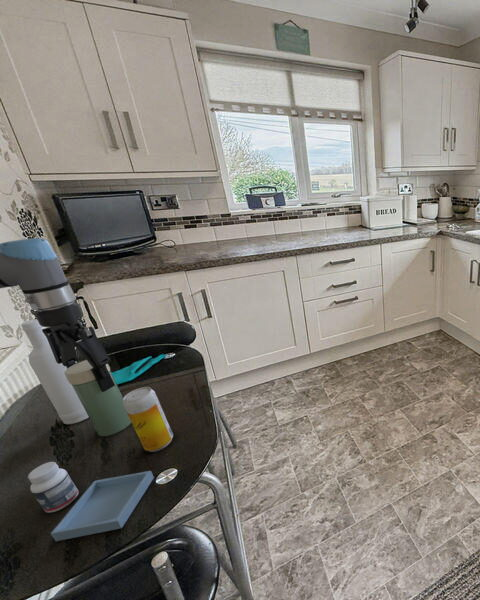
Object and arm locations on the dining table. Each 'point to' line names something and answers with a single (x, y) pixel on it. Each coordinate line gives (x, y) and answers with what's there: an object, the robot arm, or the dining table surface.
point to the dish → (104, 506)
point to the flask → (103, 407)
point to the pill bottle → (52, 487)
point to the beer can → (148, 419)
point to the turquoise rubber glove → (135, 369)
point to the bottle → (53, 375)
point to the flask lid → (80, 373)
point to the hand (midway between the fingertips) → (96, 387)
